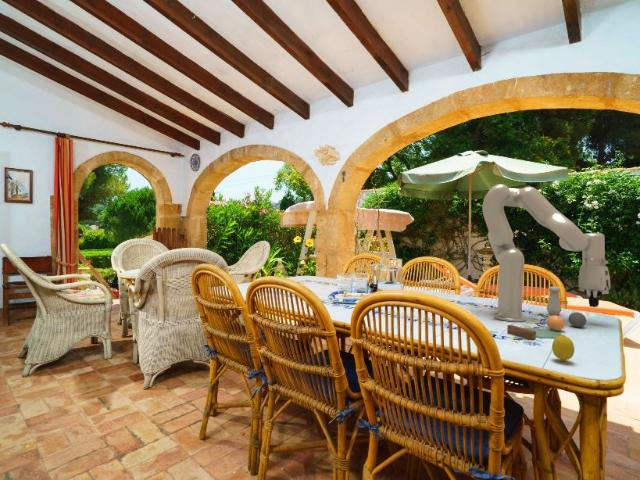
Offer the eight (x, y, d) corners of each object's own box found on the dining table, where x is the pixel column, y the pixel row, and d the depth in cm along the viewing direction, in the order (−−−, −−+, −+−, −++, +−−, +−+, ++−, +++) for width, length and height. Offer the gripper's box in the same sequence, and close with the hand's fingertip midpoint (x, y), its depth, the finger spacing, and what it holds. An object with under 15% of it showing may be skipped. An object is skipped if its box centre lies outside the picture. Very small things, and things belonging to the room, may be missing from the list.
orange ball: (558, 333, 141) (558, 317, 141) (543, 329, 146) (543, 314, 146) (568, 331, 143) (568, 316, 143) (552, 328, 149) (553, 313, 149)
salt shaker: (564, 315, 171) (564, 287, 171) (551, 315, 171) (552, 287, 171) (556, 313, 177) (556, 286, 177) (544, 312, 177) (544, 285, 177)
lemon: (577, 365, 107) (578, 338, 106) (556, 363, 108) (557, 336, 107) (568, 359, 112) (569, 332, 112) (548, 357, 113) (549, 331, 113)
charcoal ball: (580, 329, 147) (580, 314, 146) (564, 326, 152) (565, 311, 152) (589, 328, 149) (589, 313, 149) (573, 324, 155) (574, 310, 154)
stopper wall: (532, 340, 131) (532, 331, 131) (507, 333, 140) (507, 325, 140) (535, 339, 132) (536, 331, 132) (510, 332, 141) (511, 324, 141)
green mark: (546, 340, 132) (546, 339, 132) (511, 330, 144) (511, 329, 144) (570, 335, 137) (570, 335, 137) (535, 326, 150) (535, 326, 150)
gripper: (619, 263, 149) (619, 308, 149) (579, 261, 162) (580, 302, 163) (608, 264, 146) (608, 310, 146) (569, 262, 159) (569, 304, 159)
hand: (593, 306), depth 154 cm, fingers closed
